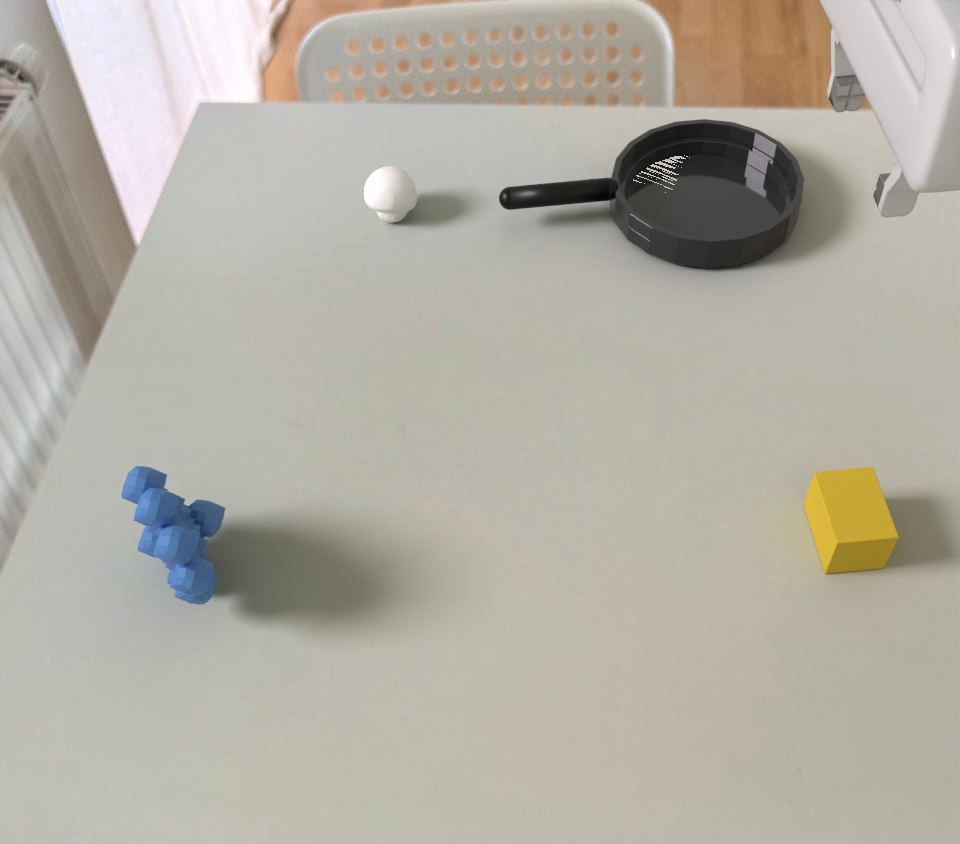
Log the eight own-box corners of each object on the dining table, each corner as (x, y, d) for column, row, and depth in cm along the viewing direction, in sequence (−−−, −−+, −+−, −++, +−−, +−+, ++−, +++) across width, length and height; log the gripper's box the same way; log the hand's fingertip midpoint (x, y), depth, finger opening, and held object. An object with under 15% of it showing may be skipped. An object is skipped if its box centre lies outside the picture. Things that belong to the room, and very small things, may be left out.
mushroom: (361, 230, 104) (354, 185, 100) (375, 197, 106) (368, 152, 102) (412, 235, 103) (407, 191, 99) (424, 202, 106) (420, 157, 101)
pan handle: (616, 190, 102) (617, 172, 100) (619, 204, 101) (621, 186, 99) (498, 201, 102) (497, 183, 100) (500, 215, 101) (499, 197, 99)
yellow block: (860, 498, 84) (873, 466, 81) (884, 568, 81) (899, 537, 77) (803, 504, 84) (813, 471, 81) (824, 574, 80) (837, 543, 77)
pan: (772, 143, 108) (778, 111, 105) (816, 262, 99) (825, 230, 96) (598, 159, 108) (599, 128, 105) (626, 280, 98) (628, 249, 96)
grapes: (277, 609, 81) (240, 513, 71) (192, 653, 79) (142, 561, 69) (213, 503, 87) (171, 400, 77) (133, 541, 85) (79, 442, 75)
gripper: (1098, 14, 45) (984, 274, 57) (938, -205, 57) (870, 48, 68) (947, 28, 45) (863, 285, 57) (816, -195, 56) (768, 57, 68)
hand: (866, 154), depth 62 cm, fingers open, 8 cm apart
